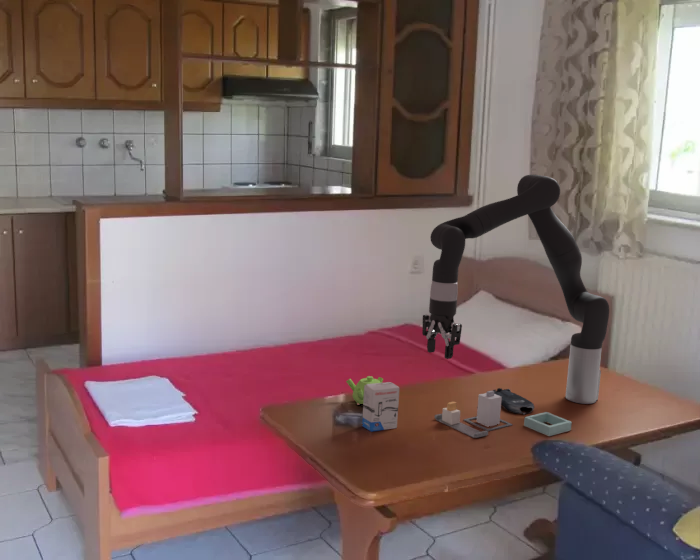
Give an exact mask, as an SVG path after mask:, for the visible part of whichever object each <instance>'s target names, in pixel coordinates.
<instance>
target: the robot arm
mask: <svg viewBox="0 0 700 560" xmlns="http://www.w3.org/2000/svg"><path fill="white" fill-rule="evenodd" d="M516 192H517V194H516V195H515V196H513V197H509V198H506V199H502V200H499V201H496V202H492V203H489V204H486V205H484V206H483V205H482V206H481V207H478V208H476V209H475V210H473V211H471V212H469V213H466V214H465V215H463V216H460V217H455V218H452V219H450V220H447V221H445V222H442V223H440V224H438V225H437V226H435V227H434V228H433V230H432V231H431V233H430V242H431V245H432V246H433V247H434V248H436V249H438V250H441V252H440V257H439V259H436V260H435V261H433V266H432V275H431V276H432V277H431V280H432V281H431V284H430V291H429V305H428V306H429V307H428V308H429V309H428V312H429V314H427V313H426V314H422V327H421V328H422V336H425V337H426V340H427V344H426V345H427V346H426V349H427V352H428V353H430V354H431V353H435V351H436V341H437V340H436V337H437V335H438V334H441V337H442V338H443V339H444V343H445V348H444V359H446V360H449V359H452V358H453V357H454V356H453V355H454V347H455V346H457V345H460V344H461V337H462V328H463V323H456V322H455V319H454V317H455V316H456V314H457V307H458V292H459V288H458V287H459V286H458V284H459V283H458V281H459V280H458V279H459V266H460V264H461V262H462V258H463V255H464V252H465V249H466V240H467V239H476V238H479V237H481V236H483V235H486V234H487V233H489V232H491V231H493V230H495V229H497V228H498V227H499V228H500V226H503V225H504V224H507V223H510V222H511V221H513V220H516V219H519V218H522V217H524V216H527V215H528V218H529V219H530V222H531V223H532V225H533V227H534V229H535V231H536V233H537V235H538V238H539V240H540V242H541V245H542V246H543V249H544V252H545V255H546V257H547V260H548V261H549V263H550V265H551V268H552V269H553V272H554V274H555V276H556V278H557V281H558V283H559V285H560V288H561V292H562V293H563V298H564V301H565V304H566V307H567V309H568V312H569V314H570V316H571V317H572V318H573V319H574V320H575V321H577V322H580V323H582V327H581V332H577V333H576V332H575V333H573V334H572V335H571V338H570V346H569V357H568V367H567V379H566V386H565V387H566V389H565V399H566V400H568V401H570V402H573V403H577V404H583V405H585V404H586V405H588V404H589V405H590V404H594V403H596V402H597V401H598V400H599V393H600V385H601V375H602V370H601V356H602V348H603V342H604V340H605V338H606V336H607V330H608V325H609V318H610V305H609V302H608V300H607V299H606V298H605V297H602V296H600V295H597V294H594V293H590V292H589V291H588V290H587V288H586V286H585V285H584V282H583V279H582V277H581V270H582V266H583V265H582V262H583V257H582V253H581V250H580V247H579V245H578V243H577V240H576V239H575V237H574V235H573V234H572V232H571V231H570V230H569V229H568V227H567V226H566V225H565V224H564V223H563V222H562V220H561V219H560V218H559V217H558V216H557V215H556V213H555V212H554V210H553V209H552V207H553V206H554V205H555V204H556V203H557V202H558V200H559V198H560V195H561V186H560V184H559V182H558V181H557V180H556V179H555V178H552V177H551V176H546V175H541V174H539V175H538V174H526V175H524V176H523V177H521V179H520V180H519V181H518V183H517V188H516Z"/></svg>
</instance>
